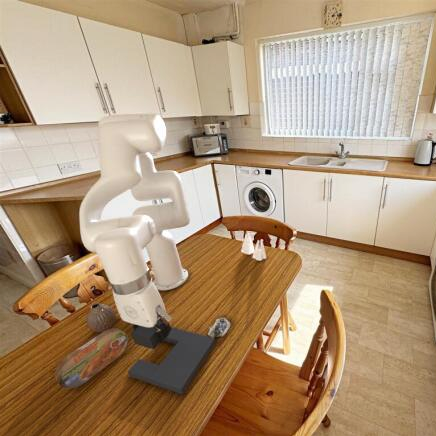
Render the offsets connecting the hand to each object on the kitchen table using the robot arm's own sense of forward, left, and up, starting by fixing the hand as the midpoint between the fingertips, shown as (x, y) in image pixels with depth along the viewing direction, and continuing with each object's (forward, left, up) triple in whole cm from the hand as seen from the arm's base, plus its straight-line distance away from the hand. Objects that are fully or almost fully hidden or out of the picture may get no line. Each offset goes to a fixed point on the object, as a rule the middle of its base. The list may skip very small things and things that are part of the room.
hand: (153, 335), depth 62 cm
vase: (-24, +3, -8) cm, 26 cm away
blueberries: (+11, +12, -8) cm, 18 cm away
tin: (-13, -7, -8) cm, 17 cm away
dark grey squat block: (0, 0, -1) cm, 1 cm away
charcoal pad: (+5, 0, -8) cm, 9 cm away
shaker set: (+5, +50, -8) cm, 51 cm away
